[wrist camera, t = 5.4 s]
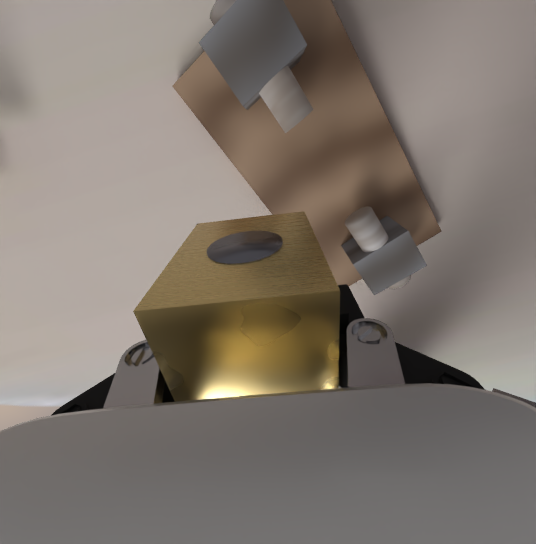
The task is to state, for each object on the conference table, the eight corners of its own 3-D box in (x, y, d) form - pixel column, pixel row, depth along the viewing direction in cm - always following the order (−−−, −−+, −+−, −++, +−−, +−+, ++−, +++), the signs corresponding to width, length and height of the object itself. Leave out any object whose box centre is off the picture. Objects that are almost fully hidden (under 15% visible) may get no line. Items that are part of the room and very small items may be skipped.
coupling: (197, 222, 11) (132, 309, 6) (304, 209, 11) (340, 288, 5) (229, 346, 14) (207, 472, 9) (311, 338, 14) (337, 463, 9)
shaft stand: (434, 227, 26) (470, 248, 22) (332, 288, 30) (344, 318, 25) (301, -47, 17) (313, -113, 13) (177, 88, 21) (150, 76, 16)
